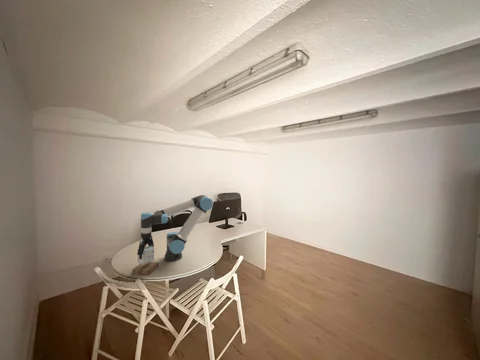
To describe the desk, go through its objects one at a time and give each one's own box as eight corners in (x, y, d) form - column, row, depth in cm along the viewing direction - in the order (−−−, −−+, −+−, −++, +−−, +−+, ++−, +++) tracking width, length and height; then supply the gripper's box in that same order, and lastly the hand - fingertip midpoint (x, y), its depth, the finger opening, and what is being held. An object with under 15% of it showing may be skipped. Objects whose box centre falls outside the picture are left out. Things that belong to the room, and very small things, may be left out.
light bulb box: (150, 258, 163) (150, 245, 162) (154, 260, 159) (154, 247, 158) (137, 262, 155) (137, 249, 154) (141, 265, 150) (141, 251, 150)
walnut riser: (159, 265, 163) (159, 262, 163) (149, 274, 149) (149, 270, 149) (143, 264, 165) (143, 261, 164) (132, 273, 151) (132, 269, 150)
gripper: (150, 227, 168) (150, 252, 169) (131, 237, 144) (131, 266, 145) (158, 228, 167) (158, 253, 168) (141, 237, 143) (141, 266, 144)
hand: (146, 259), depth 157 cm, fingers closed on light bulb box, 12 cm apart
